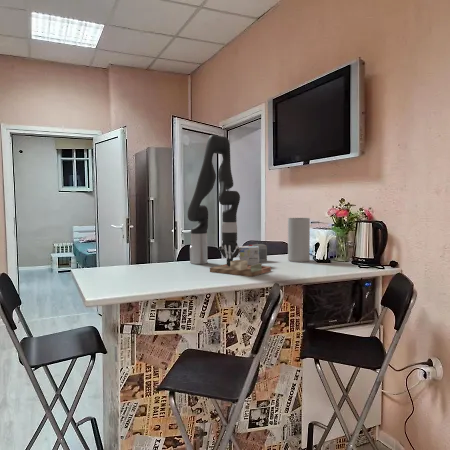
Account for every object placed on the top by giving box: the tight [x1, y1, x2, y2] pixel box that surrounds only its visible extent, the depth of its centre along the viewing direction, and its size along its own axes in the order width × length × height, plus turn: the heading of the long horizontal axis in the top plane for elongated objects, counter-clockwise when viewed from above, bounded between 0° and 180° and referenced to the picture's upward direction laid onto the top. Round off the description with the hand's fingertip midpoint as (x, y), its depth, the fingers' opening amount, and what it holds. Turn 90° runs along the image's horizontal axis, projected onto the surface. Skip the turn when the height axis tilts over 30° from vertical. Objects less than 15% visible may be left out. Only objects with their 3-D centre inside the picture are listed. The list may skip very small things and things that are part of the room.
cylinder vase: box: [287, 217, 311, 263], centre depth 233 cm, size 12×12×25 cm
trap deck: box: [209, 262, 272, 277], centre depth 200 cm, size 25×18×5 cm
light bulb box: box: [238, 245, 260, 265], centre depth 217 cm, size 11×7×11 cm, turn 84°
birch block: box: [230, 259, 247, 271], centre depth 195 cm, size 6×6×4 cm
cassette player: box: [248, 243, 268, 262], centre depth 233 cm, size 16×3×10 cm, turn 113°
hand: (229, 266), depth 198 cm, fingers closed
